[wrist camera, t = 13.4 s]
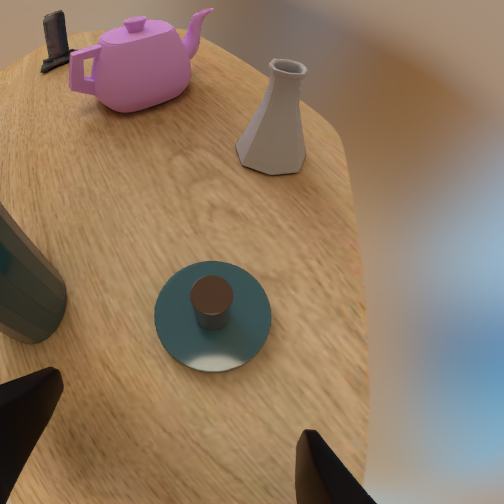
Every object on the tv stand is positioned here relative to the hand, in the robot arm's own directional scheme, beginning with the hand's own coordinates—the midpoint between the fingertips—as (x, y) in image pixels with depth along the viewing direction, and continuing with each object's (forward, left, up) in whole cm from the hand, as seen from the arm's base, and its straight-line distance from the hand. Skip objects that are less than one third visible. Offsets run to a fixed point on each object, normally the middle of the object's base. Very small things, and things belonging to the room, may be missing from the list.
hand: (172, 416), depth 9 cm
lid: (+6, -1, -9) cm, 11 cm away
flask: (+23, -6, -10) cm, 26 cm away
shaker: (+6, +14, -9) cm, 18 cm away
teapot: (+36, +10, -10) cm, 39 cm away
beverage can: (+53, +34, -10) cm, 64 cm away
